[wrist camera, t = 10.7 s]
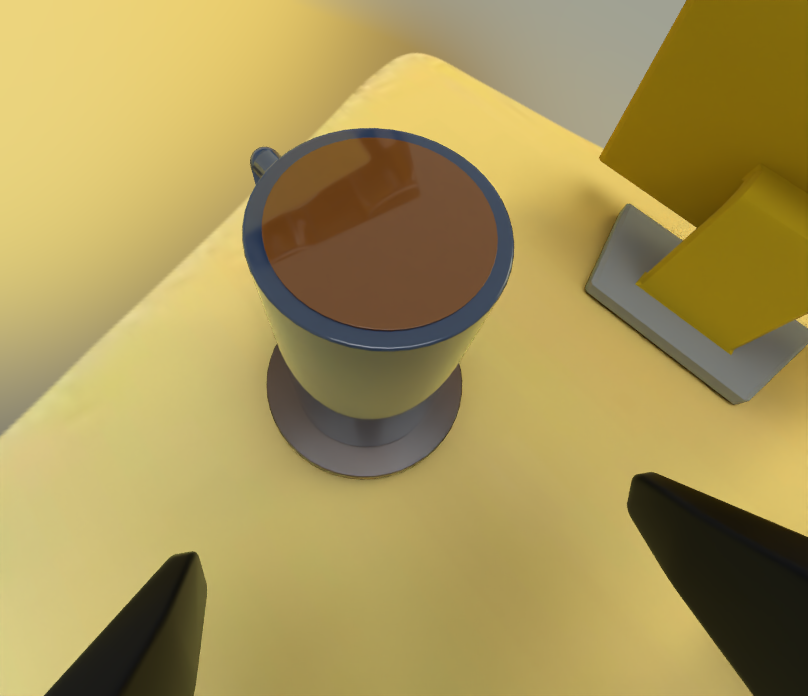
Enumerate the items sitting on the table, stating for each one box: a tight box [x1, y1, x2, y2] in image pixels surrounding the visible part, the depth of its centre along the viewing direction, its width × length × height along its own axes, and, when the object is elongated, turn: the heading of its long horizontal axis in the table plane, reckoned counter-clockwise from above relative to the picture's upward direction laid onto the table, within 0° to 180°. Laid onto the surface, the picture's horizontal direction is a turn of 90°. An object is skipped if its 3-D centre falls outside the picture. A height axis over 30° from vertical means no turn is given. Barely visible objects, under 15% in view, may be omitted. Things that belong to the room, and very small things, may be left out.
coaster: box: [267, 344, 462, 479], centre depth 23 cm, size 10×10×1 cm
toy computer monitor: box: [585, 0, 808, 404], centre depth 20 cm, size 20×8×16 cm, turn 48°
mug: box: [242, 128, 514, 447], centre depth 17 cm, size 10×7×12 cm
